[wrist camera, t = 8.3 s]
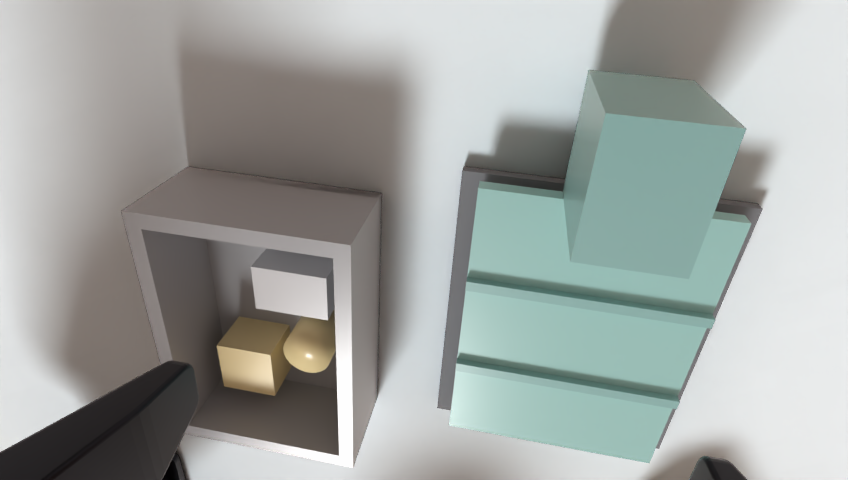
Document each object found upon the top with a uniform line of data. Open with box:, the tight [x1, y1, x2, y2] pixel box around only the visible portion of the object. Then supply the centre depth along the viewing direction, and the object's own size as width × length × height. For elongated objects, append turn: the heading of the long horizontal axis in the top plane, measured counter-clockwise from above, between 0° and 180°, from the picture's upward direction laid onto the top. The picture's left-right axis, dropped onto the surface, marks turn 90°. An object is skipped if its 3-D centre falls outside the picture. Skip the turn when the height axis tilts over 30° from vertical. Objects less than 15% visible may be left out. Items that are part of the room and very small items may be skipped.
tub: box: [121, 167, 382, 468], centre depth 22 cm, size 11×8×4 cm
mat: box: [437, 166, 762, 449], centre depth 21 cm, size 12×10×1 cm
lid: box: [449, 70, 751, 463], centre depth 18 cm, size 16×9×5 cm, turn 177°
